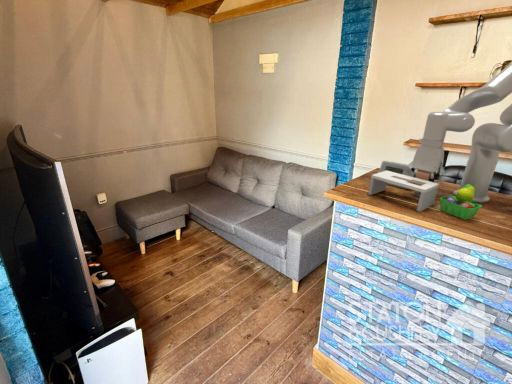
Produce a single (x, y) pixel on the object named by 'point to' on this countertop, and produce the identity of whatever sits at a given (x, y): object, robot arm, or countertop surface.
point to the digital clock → (396, 170)
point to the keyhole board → (426, 189)
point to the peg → (424, 176)
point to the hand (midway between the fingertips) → (422, 184)
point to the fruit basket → (461, 203)
